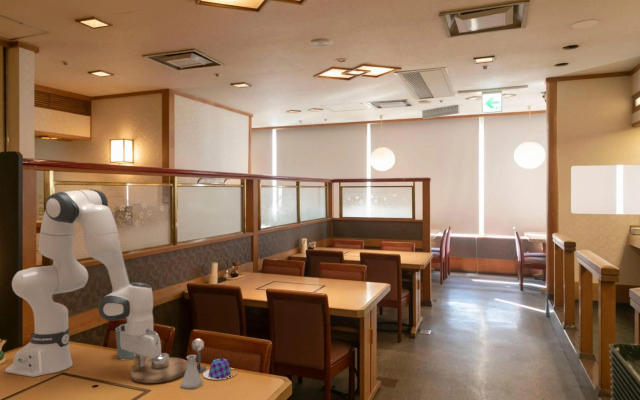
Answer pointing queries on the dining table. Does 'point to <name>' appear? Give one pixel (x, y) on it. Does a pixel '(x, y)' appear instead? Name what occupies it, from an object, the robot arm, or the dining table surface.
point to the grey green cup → (121, 353)
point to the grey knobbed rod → (198, 352)
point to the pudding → (218, 369)
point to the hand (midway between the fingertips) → (140, 365)
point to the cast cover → (160, 362)
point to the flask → (191, 374)
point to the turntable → (157, 371)
